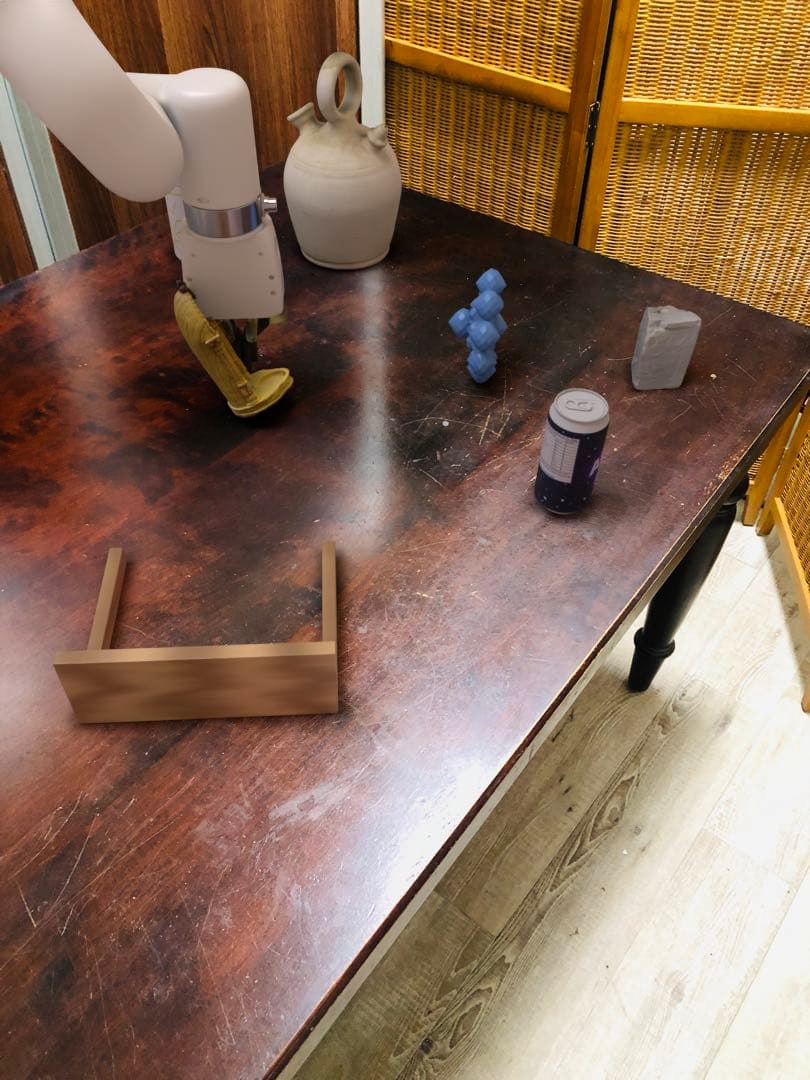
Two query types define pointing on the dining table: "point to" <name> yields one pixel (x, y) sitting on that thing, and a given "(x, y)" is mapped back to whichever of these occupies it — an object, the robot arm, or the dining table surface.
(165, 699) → the wooden bench frame
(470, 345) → the grapes
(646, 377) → the mineral specimen
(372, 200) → the jug
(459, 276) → the dining table surface
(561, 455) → the beverage can
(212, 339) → the shrine
